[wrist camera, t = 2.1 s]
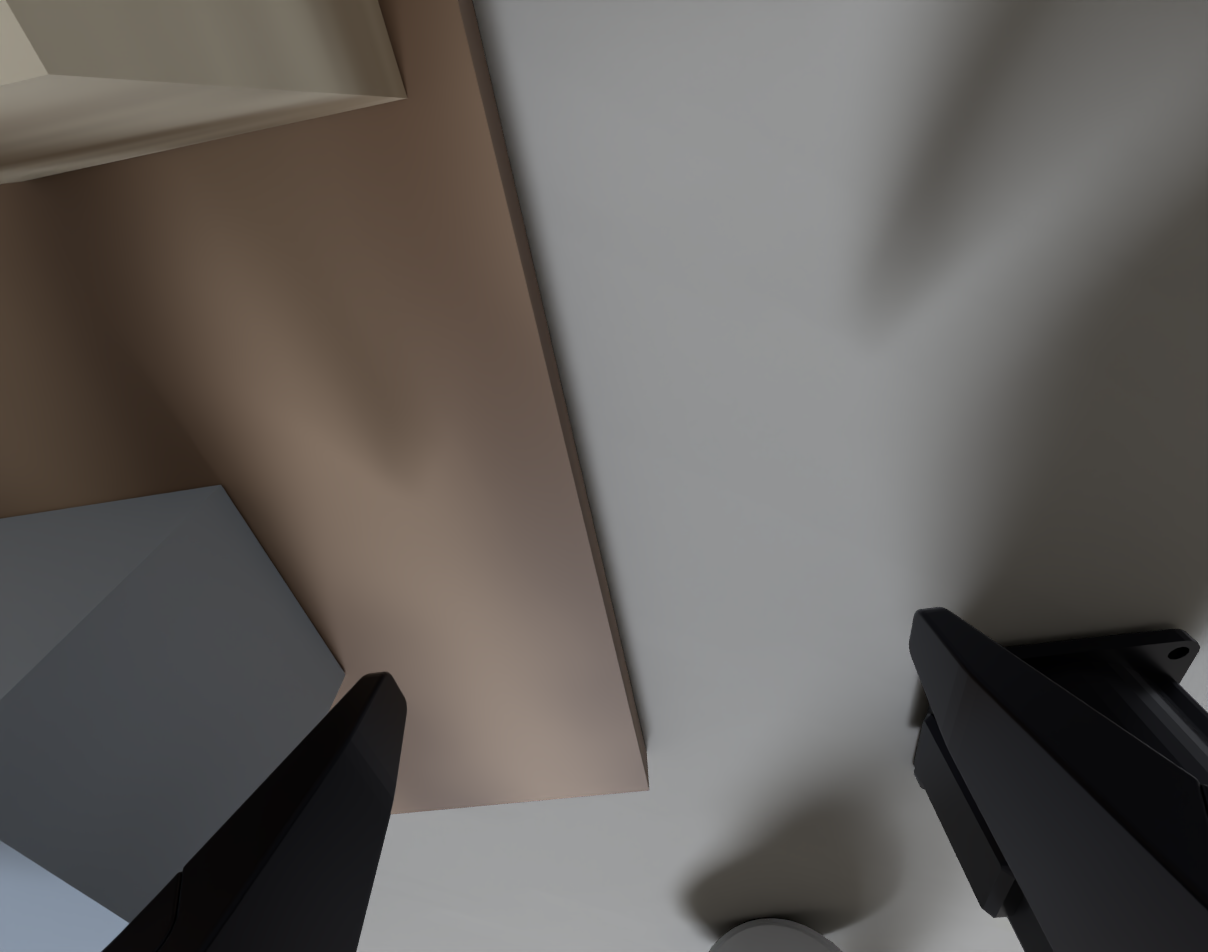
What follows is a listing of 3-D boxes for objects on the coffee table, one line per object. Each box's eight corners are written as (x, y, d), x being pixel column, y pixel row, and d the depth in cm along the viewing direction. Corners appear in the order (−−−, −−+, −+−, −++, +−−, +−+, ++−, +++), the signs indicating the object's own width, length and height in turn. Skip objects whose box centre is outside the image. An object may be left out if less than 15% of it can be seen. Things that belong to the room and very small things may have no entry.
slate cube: (222, 483, 11) (-88, 785, 6) (346, 672, 15) (208, 973, 9) (-40, 523, 12) (-518, 830, 7) (135, 698, 15) (-100, 994, 10)
